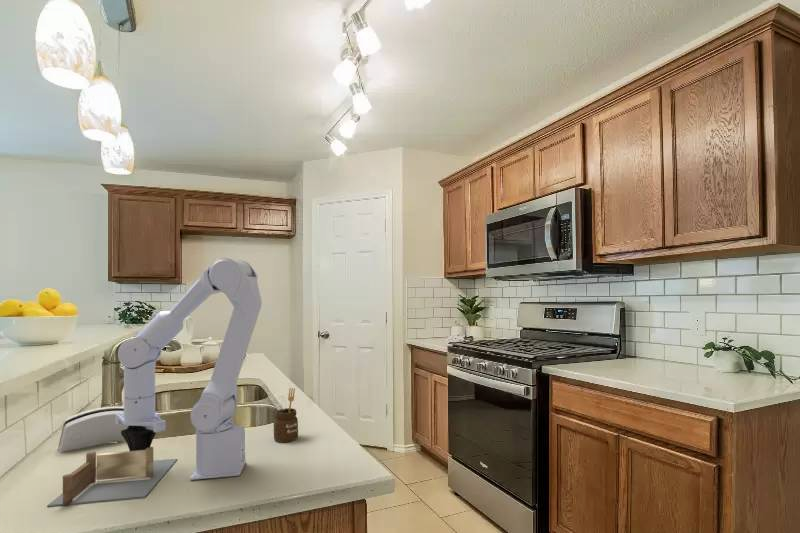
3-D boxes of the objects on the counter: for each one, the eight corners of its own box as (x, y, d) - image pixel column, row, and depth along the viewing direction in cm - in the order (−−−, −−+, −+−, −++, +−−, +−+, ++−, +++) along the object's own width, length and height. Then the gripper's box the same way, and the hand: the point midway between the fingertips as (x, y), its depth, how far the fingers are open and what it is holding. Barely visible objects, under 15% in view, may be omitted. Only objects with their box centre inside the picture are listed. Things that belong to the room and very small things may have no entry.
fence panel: (96, 481, 91) (96, 453, 91) (99, 479, 92) (99, 451, 93) (152, 476, 93) (152, 449, 93) (154, 473, 94) (154, 446, 95)
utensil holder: (268, 442, 114) (268, 392, 115) (283, 434, 120) (282, 387, 121) (289, 444, 112) (289, 393, 113) (303, 436, 118) (302, 388, 119)
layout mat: (177, 460, 103) (177, 458, 103) (145, 497, 85) (145, 495, 85) (98, 466, 101) (98, 464, 101) (47, 506, 82) (47, 504, 82)
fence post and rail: (97, 482, 92) (97, 451, 93) (70, 505, 82) (70, 470, 83) (88, 482, 92) (88, 452, 92) (60, 506, 82) (60, 471, 82)
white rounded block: (134, 432, 125) (136, 398, 123) (137, 442, 122) (140, 408, 120) (57, 447, 114) (58, 411, 112) (58, 458, 111) (60, 421, 109)
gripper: (179, 395, 97) (179, 461, 96) (138, 389, 104) (138, 450, 103) (146, 402, 91) (146, 473, 90) (105, 395, 98) (105, 461, 97)
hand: (139, 462), depth 96 cm, fingers closed
